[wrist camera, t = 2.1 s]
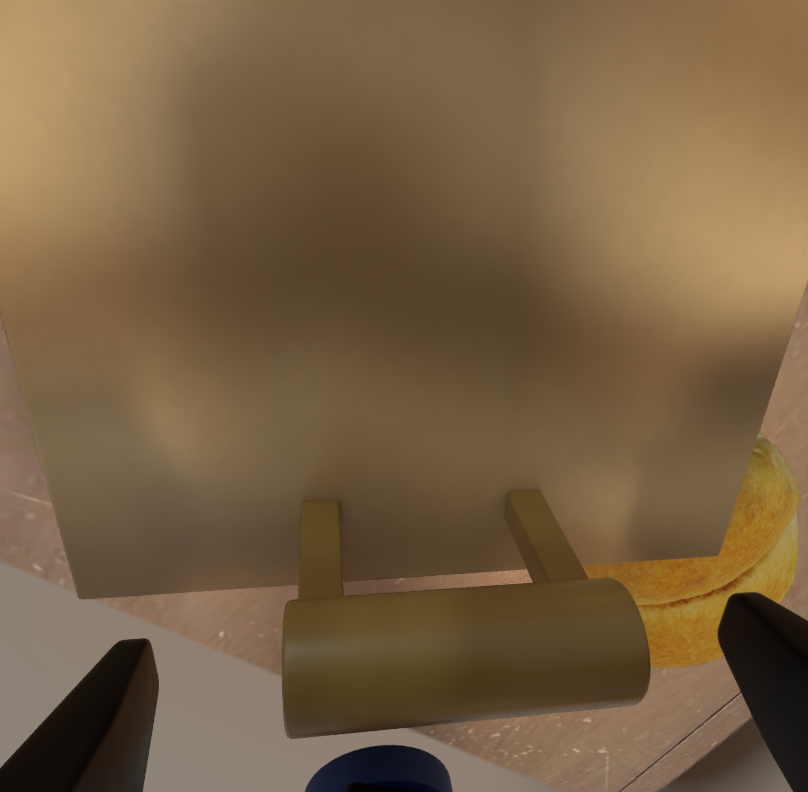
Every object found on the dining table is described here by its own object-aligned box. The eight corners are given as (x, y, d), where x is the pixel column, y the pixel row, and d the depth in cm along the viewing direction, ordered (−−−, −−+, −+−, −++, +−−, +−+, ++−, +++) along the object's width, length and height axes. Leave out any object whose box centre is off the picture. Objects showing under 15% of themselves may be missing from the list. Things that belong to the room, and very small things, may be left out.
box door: (702, 537, 14) (879, 743, 10) (88, 576, 13) (-38, 847, 8) (879, -43, 9) (1397, -164, 5) (-89, -106, 8) (-653, -377, 3)
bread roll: (563, 640, 24) (606, 737, 20) (526, 455, 20) (572, 535, 16) (768, 582, 24) (846, 668, 20) (774, 383, 20) (873, 448, 16)
